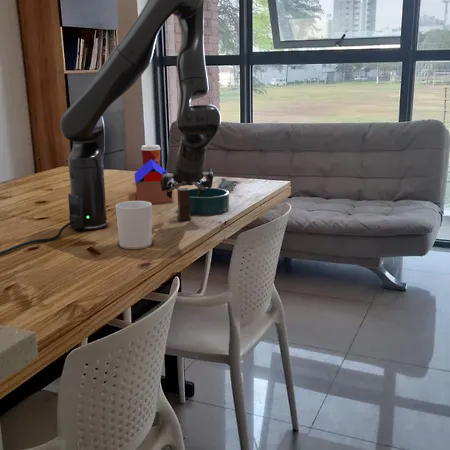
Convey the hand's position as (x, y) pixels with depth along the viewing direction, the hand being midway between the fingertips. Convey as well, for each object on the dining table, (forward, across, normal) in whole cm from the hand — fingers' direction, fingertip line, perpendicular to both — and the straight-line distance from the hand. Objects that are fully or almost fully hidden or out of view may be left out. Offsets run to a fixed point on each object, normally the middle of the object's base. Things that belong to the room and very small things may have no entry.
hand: (184, 194), depth 170 cm
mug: (-8, +16, +19) cm, 27 cm away
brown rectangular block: (+6, 0, +5) cm, 8 cm away
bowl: (+13, -8, -2) cm, 16 cm away
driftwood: (+37, -24, -26) cm, 51 cm away
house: (+30, +5, -19) cm, 36 cm away
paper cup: (+50, +2, -39) cm, 64 cm away
